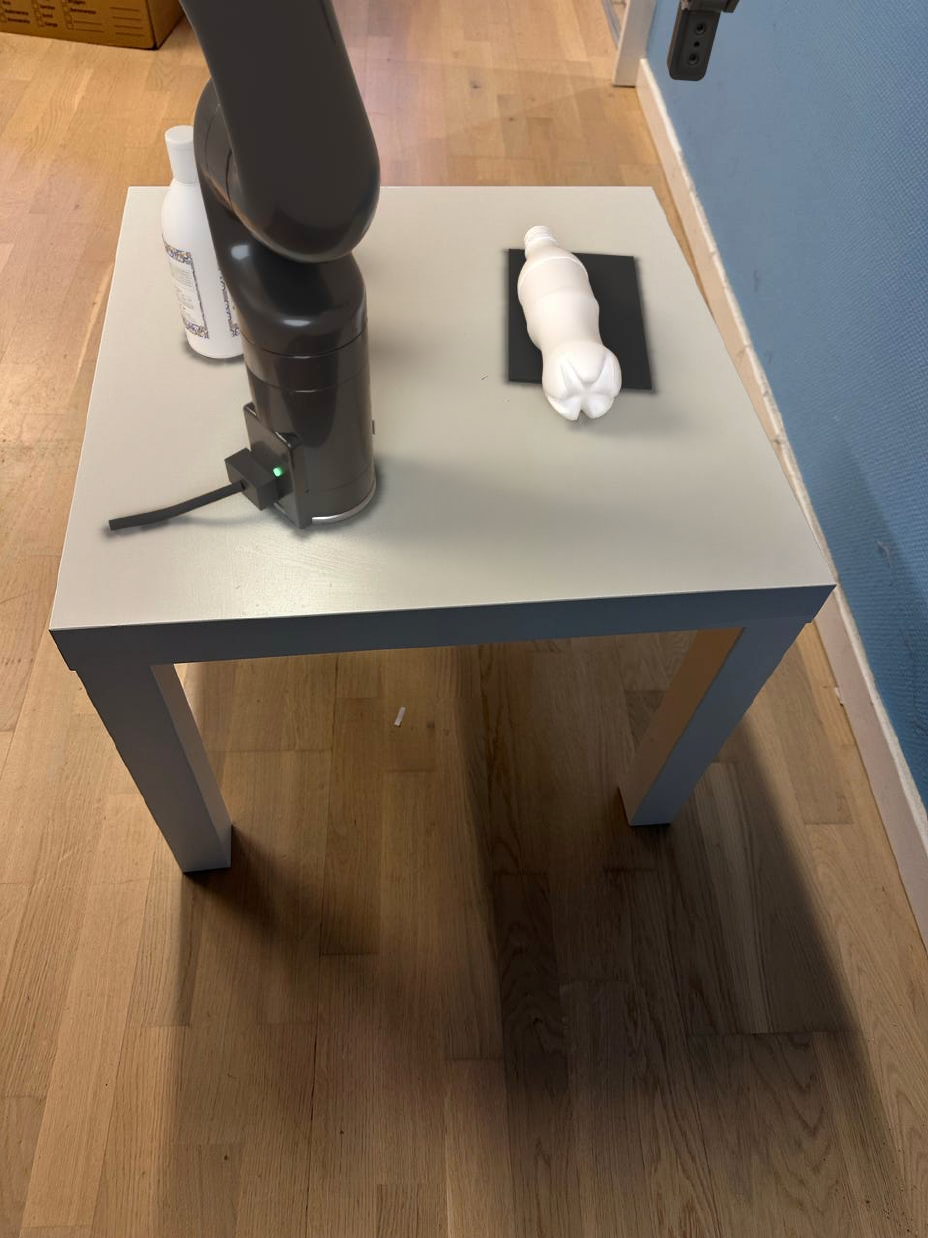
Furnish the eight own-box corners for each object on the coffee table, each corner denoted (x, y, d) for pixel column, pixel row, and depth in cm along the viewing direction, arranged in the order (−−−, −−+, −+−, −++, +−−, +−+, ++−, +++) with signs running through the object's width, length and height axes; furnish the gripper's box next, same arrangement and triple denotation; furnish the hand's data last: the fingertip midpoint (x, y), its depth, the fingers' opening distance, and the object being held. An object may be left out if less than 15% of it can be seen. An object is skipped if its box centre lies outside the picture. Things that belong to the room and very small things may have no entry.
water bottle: (533, 398, 79) (491, 235, 93) (574, 441, 85) (527, 280, 98) (603, 353, 76) (548, 192, 90) (641, 401, 81) (583, 241, 95)
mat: (651, 389, 88) (651, 386, 87) (508, 381, 87) (509, 378, 87) (632, 259, 100) (633, 256, 100) (508, 251, 100) (508, 248, 100)
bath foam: (258, 314, 91) (225, 110, 75) (260, 358, 87) (226, 153, 71) (188, 318, 90) (140, 113, 74) (187, 363, 86) (136, 156, 70)
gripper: (681, -372, 44) (615, 24, 58) (717, -316, 36) (631, 124, 50) (832, -360, 44) (729, 32, 58) (900, -302, 36) (763, 133, 50)
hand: (684, 74), depth 54 cm, fingers closed
